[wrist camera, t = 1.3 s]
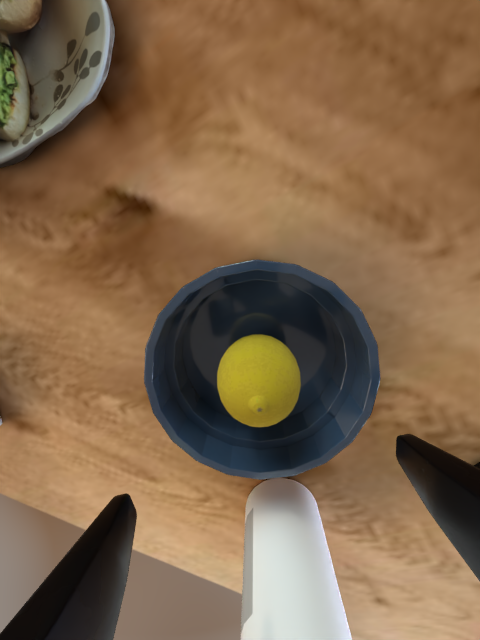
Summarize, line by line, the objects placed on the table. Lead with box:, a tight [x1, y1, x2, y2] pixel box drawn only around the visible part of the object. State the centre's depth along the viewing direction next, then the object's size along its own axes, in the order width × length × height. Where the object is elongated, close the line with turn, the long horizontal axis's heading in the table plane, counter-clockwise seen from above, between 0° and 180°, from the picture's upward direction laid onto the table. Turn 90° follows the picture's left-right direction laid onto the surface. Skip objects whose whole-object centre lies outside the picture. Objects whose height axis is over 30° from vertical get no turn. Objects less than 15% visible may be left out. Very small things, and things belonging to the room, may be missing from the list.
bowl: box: [144, 260, 380, 480], centre depth 19 cm, size 15×15×5 cm
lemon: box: [217, 334, 301, 427], centre depth 17 cm, size 6×6×8 cm
